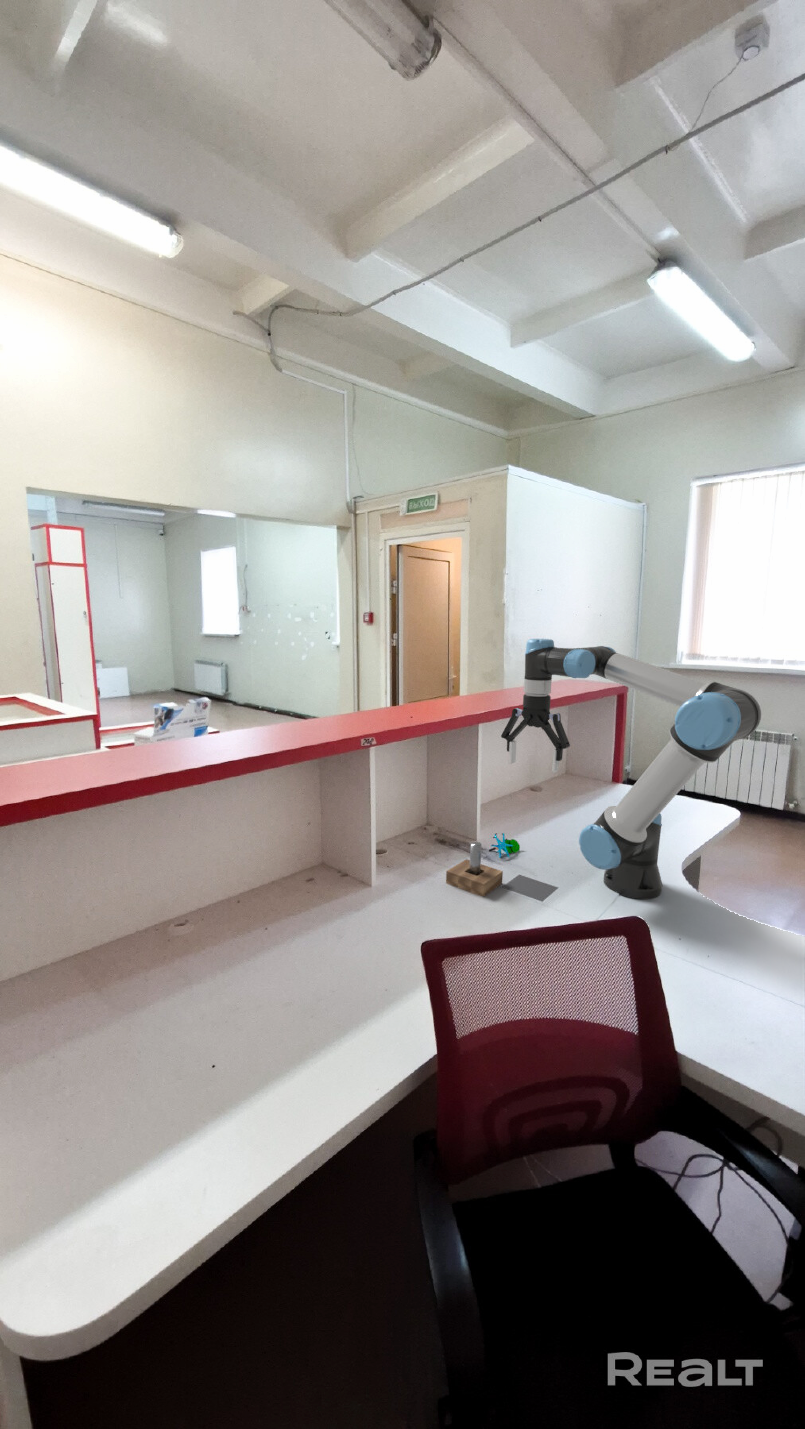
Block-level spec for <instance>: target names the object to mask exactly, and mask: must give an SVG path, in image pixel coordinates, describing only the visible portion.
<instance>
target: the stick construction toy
mask: <svg viewBox="0 0 805 1429" xmlns="http://www.w3.org/2000/svg"><path fill="white" fill-rule="evenodd" d="M497 835H498V833H494V834H493V837H492V839H495V840H496V842H497V844H491V845H490V846H491V847H492V848H489V849H488V852H489V853H490V852H493V851H495V850H497V851H495V853H496V854H497V853H498V855H499V856H498V858H499V859H503V856H502V851H503V852H504V853H505V854H506V856H507V858H510V855H511V854H516V853H517V852H519V851H520V849H521V846H520V843H519V842H518V841H517V840H516V839H514V838H512V839H508V838H505V832H503V833H502V832H501V835H502V840H501V839H499V838H498V836H497Z"/></svg>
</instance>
